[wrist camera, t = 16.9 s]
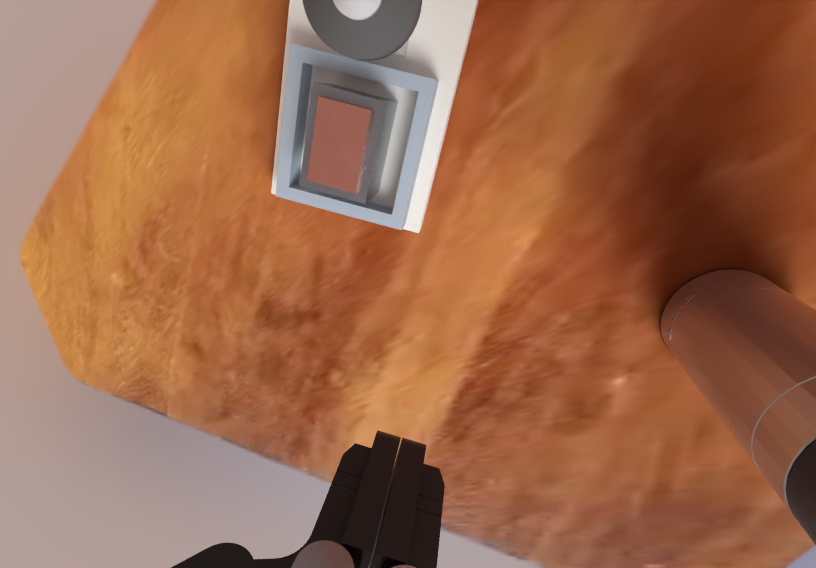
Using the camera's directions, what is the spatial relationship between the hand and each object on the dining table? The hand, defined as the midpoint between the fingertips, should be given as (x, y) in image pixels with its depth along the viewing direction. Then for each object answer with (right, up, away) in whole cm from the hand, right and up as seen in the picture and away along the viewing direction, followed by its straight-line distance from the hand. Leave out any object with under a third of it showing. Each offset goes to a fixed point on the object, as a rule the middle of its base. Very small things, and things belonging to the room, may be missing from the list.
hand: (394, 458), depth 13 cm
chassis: (-3, +20, +22) cm, 30 cm away
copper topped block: (-4, +16, +21) cm, 27 cm away
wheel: (-2, +24, +17) cm, 30 cm away
